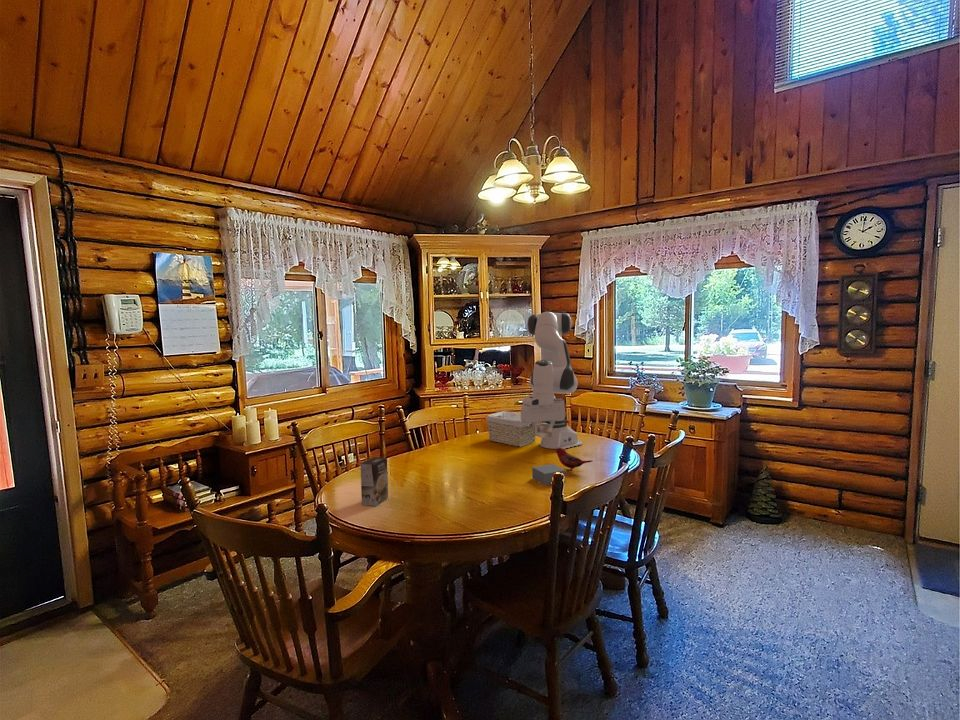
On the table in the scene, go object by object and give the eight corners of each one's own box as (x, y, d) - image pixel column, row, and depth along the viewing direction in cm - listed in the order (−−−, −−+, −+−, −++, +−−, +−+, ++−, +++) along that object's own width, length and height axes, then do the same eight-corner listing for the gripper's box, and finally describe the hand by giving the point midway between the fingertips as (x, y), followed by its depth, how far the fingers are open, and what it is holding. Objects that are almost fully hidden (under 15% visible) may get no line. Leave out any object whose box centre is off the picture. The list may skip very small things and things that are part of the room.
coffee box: (375, 506, 189) (374, 464, 187) (361, 504, 191) (359, 463, 190) (389, 498, 197) (387, 457, 196) (374, 496, 200) (373, 456, 198)
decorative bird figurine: (556, 468, 230) (556, 446, 229) (594, 473, 221) (594, 451, 220) (553, 469, 228) (553, 448, 227) (592, 475, 219) (592, 453, 218)
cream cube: (545, 434, 219) (545, 422, 218) (551, 436, 214) (551, 424, 214) (535, 435, 216) (535, 423, 216) (541, 437, 212) (541, 426, 212)
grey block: (552, 475, 221) (552, 463, 220) (565, 481, 212) (565, 470, 211) (532, 478, 217) (532, 467, 216) (545, 485, 208) (544, 473, 207)
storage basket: (538, 442, 276) (538, 415, 274) (521, 448, 264) (520, 420, 262) (504, 435, 291) (503, 410, 290) (485, 441, 279) (485, 415, 278)
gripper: (560, 396, 221) (560, 427, 222) (518, 399, 213) (518, 432, 214) (568, 398, 215) (568, 430, 216) (526, 402, 207) (526, 435, 208)
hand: (543, 431), depth 215 cm, fingers closed on cream cube, 5 cm apart
